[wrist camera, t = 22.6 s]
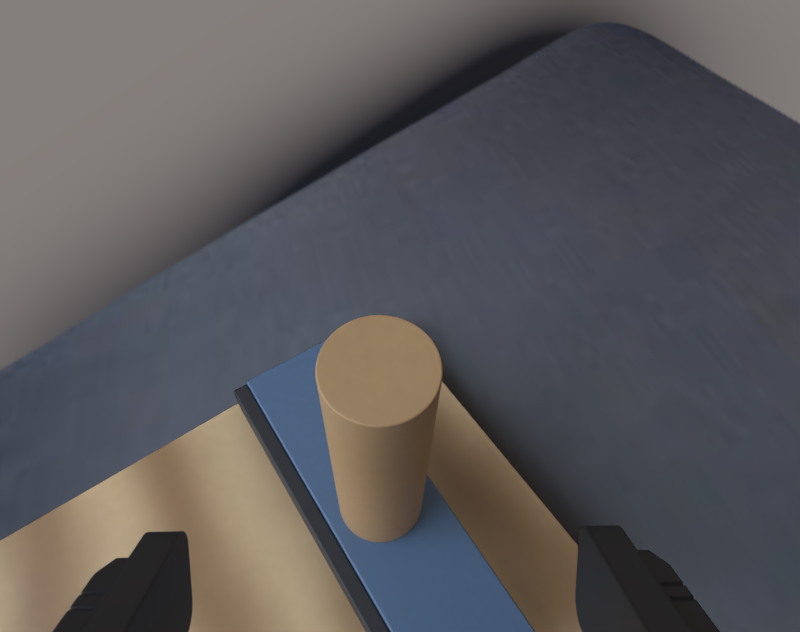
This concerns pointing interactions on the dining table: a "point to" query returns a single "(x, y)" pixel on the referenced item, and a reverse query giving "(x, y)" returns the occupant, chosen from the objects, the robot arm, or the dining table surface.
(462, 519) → the cutting board
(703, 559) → the dining table surface
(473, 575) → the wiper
